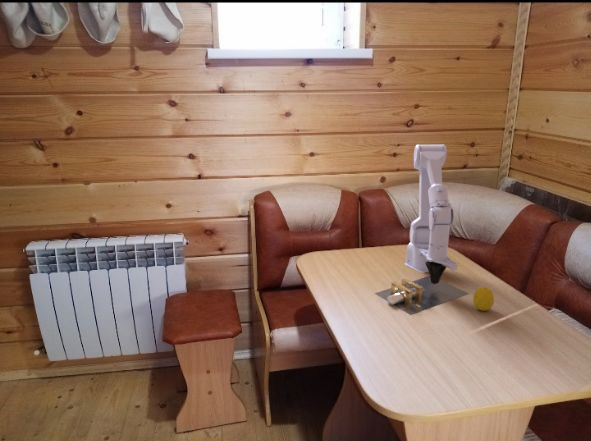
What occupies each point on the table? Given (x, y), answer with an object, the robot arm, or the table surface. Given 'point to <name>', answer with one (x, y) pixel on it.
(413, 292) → the tube
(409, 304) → the plate
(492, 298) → the lemon
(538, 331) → the table surface
